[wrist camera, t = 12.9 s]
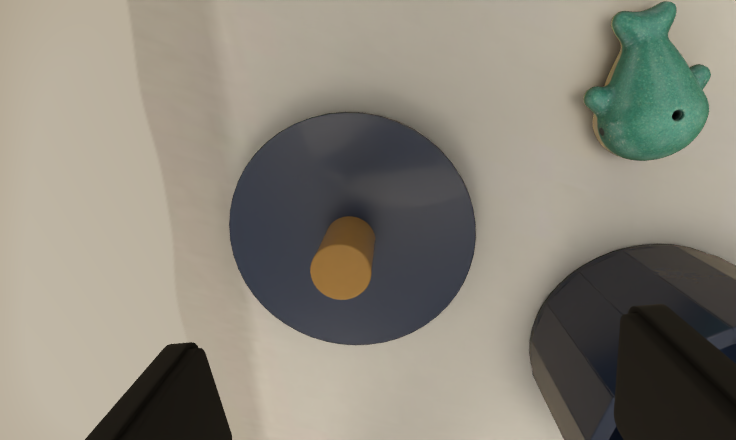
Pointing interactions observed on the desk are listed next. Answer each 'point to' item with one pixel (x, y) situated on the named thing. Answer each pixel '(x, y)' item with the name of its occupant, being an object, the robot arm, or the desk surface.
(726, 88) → the desk surface
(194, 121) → the desk surface
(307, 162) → the tin lid
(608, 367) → the tin
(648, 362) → the robot arm
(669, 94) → the whale figurine
